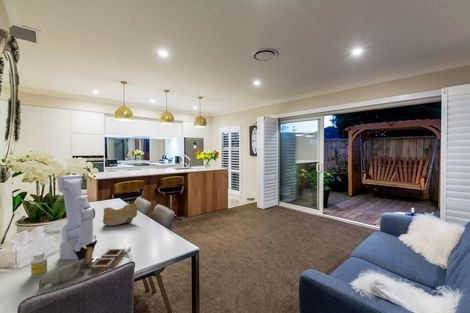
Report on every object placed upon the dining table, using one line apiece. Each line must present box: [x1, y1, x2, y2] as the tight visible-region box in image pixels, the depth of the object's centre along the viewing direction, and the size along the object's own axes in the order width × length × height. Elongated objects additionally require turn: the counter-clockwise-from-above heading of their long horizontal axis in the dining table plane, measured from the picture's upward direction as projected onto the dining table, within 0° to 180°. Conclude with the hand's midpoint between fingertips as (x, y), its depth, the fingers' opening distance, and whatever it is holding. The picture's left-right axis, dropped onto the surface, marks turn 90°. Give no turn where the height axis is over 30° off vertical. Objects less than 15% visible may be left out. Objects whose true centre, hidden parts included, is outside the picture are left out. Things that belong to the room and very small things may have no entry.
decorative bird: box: [38, 259, 85, 291], centre depth 96 cm, size 5×16×8 cm, turn 140°
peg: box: [81, 246, 93, 264], centre depth 110 cm, size 4×4×8 cm
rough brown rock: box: [102, 203, 138, 227], centre depth 172 cm, size 23×17×15 cm
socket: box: [79, 256, 99, 270], centre depth 111 cm, size 8×8×2 cm
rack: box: [87, 248, 126, 275], centre depth 112 cm, size 9×20×3 cm, turn 5°
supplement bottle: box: [30, 250, 48, 278], centre depth 101 cm, size 5×5×10 cm
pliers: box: [123, 246, 133, 262], centre depth 121 cm, size 10×2×15 cm
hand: (85, 258), depth 110 cm, fingers open, 6 cm apart
